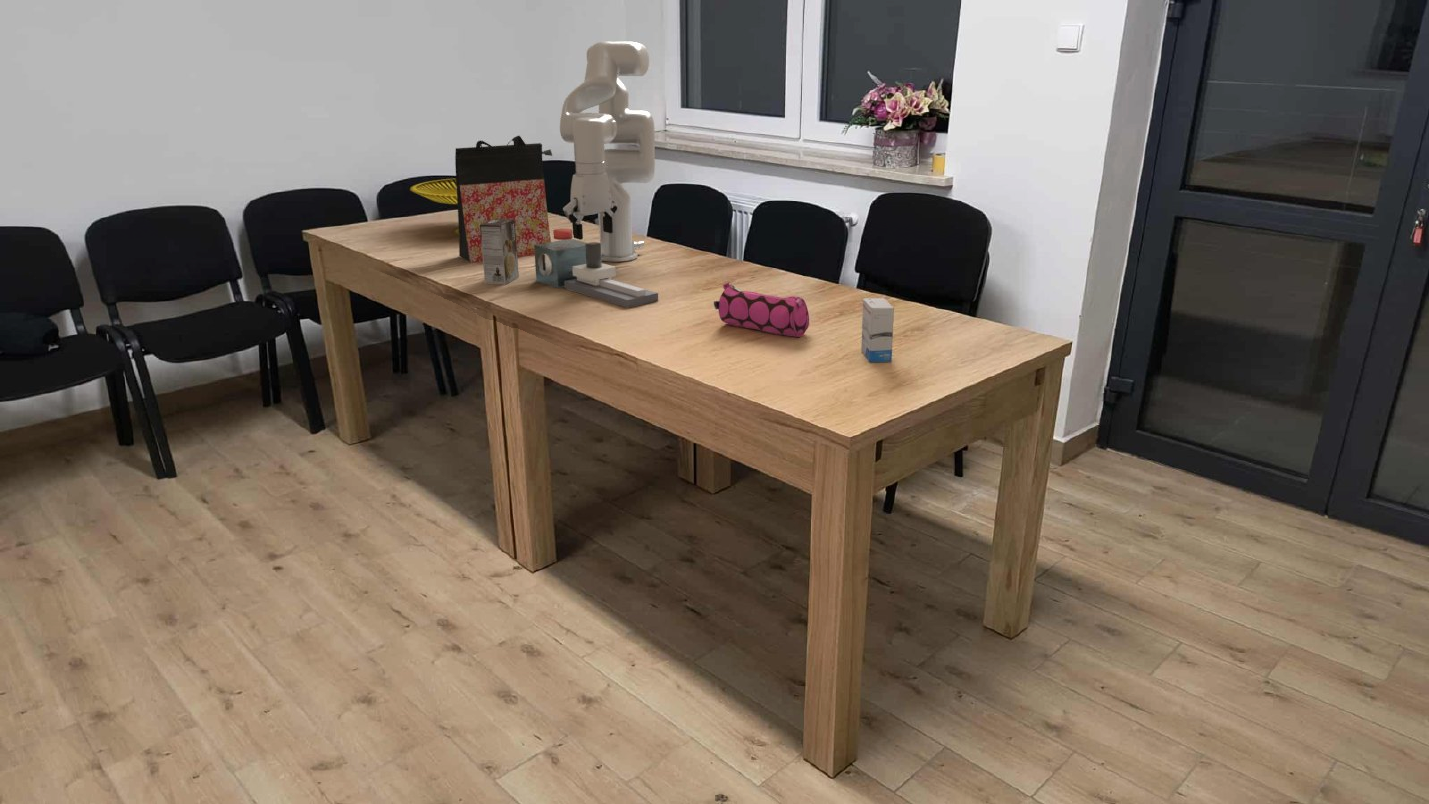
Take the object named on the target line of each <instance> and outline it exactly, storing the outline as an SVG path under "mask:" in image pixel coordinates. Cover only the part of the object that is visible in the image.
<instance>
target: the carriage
mask: <svg viewBox="0 0 1429 804" xmlns="http://www.w3.org/2000/svg"><path fill="white" fill-rule="evenodd" d="M585 247H586V264H583V265H578V266H573V267H572V268H573V276H576V277H577V280H578V281H581V282H585V283H588V284H591V285H595V286H597V285H600V282H599V279H604V278H607V279H610V280H613V277H617V270H616V269H617V267H616V266H614V265H610V264H607V263H602V262H603V261H602V259H601V243H600V242H595V241H593V242H592V241H591V242H586V244H585Z"/></svg>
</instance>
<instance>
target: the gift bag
mask: <svg viewBox="0 0 1429 804" xmlns="http://www.w3.org/2000/svg"><path fill="white" fill-rule="evenodd" d="M511 141H512V142H513V144H510V143H511ZM482 145H485V146H482ZM454 155H455V158H454V161H455V162H454V165H455V179H456V182H455V185H456V187H457V203H458V204H457V217H458V218H457V219H458V221H457V223H458V229H459V234H458V254H459V257H460V258H461V259H464V261H465V260H466V261H467V262H468V261H469V263H471V262H472V263H479V261H481V262H483V255H482V243H481V232H480V224H483V223H485V222H487V221H489V220H492V219H515V231H516V244H517V258H520V257H527V256H530V257H531V256H535V252H534V245H536V244H542V243H548V242H552V239H551V232H550V222H549V217H548V216H549V215H548V207H547V205H548V204H547V197H546V195H547V194H546V187H545V176H544V174H545V173H544V166H543V165H544V164H543V155H545V156H551V157H553V153H552V150H551V149H546V150H543V144H542V143H541V142H539V143H536V142H535V143H525V141H524V140H523V138H522V137H521V135H517V136H515V137H513V138H512V139H511V140H510V141H509V142H507V144H506V145H503V144H502V145H491V144H489V143H487V142H485V141H483V140H478V141H477V142H476V144H475V146H474V147H473V146H471V147H458V148H457V147H456V148H455V153H454Z"/></svg>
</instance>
